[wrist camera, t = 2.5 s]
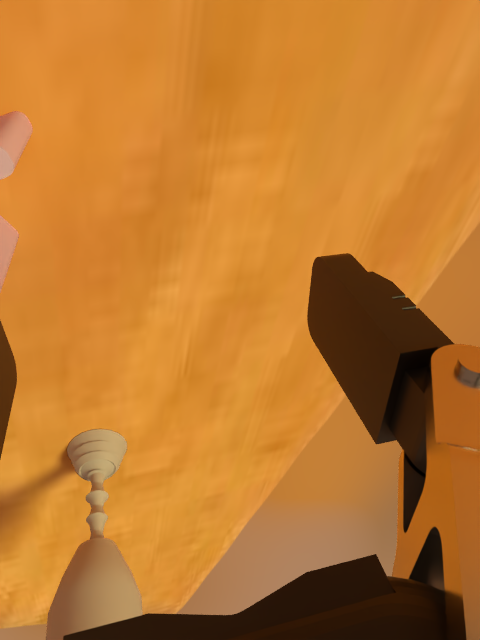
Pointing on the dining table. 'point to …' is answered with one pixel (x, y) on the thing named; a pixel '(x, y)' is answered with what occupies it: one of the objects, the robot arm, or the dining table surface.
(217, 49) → the dining table surface
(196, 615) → the robot arm
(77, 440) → the chalice
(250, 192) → the dining table surface
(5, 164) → the clip
